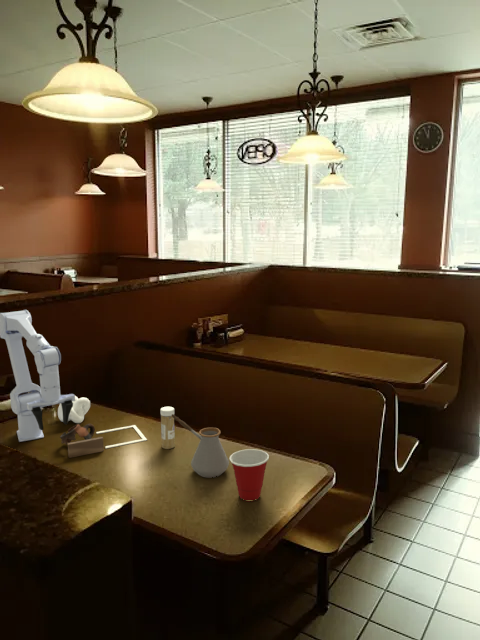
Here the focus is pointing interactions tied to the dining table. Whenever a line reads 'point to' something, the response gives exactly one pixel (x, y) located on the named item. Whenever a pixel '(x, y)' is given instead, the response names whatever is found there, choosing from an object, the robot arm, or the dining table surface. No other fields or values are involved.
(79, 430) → the brown curved piece
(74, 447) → the walnut screen
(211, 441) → the coffee pot
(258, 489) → the plastic cup
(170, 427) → the sprinkles bottle
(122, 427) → the bay outline
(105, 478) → the dining table surface
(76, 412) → the white knot
